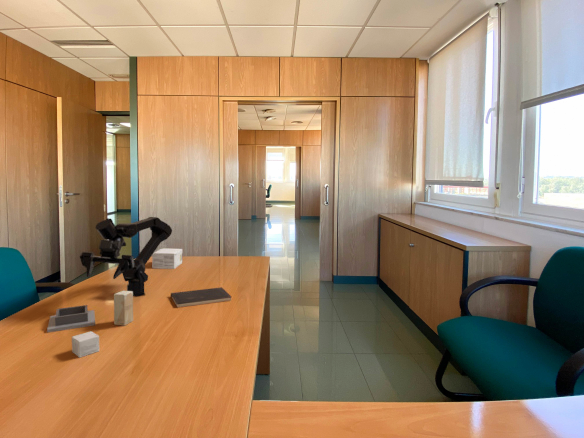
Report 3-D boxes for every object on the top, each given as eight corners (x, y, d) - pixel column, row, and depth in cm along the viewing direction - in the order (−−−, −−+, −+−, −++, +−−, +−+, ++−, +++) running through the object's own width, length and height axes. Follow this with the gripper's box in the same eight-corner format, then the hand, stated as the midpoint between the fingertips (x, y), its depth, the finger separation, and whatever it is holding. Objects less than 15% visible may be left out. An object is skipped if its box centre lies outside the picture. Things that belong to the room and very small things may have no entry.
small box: (91, 345, 111) (91, 330, 111) (100, 351, 107) (99, 335, 107) (71, 352, 107) (70, 336, 106) (79, 358, 103) (78, 341, 103)
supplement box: (174, 269, 211) (174, 253, 210) (152, 268, 211) (151, 253, 210) (182, 262, 228) (182, 248, 227) (161, 262, 228) (161, 247, 227)
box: (124, 326, 126) (123, 295, 125) (113, 324, 127) (112, 294, 126) (133, 320, 132) (133, 290, 130) (123, 319, 132) (122, 290, 131)
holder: (94, 312, 139) (93, 302, 138) (95, 325, 127) (94, 314, 126) (50, 318, 132) (50, 307, 131) (47, 332, 120) (46, 320, 119)
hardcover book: (231, 301, 156) (231, 296, 156) (176, 309, 146) (176, 303, 146) (221, 291, 171) (221, 286, 170) (170, 297, 160) (170, 292, 160)
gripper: (84, 231, 140) (68, 261, 128) (135, 235, 143) (124, 265, 131) (89, 250, 147) (75, 281, 135) (138, 254, 150) (128, 284, 138)
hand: (100, 277), depth 135 cm, fingers open, 9 cm apart
